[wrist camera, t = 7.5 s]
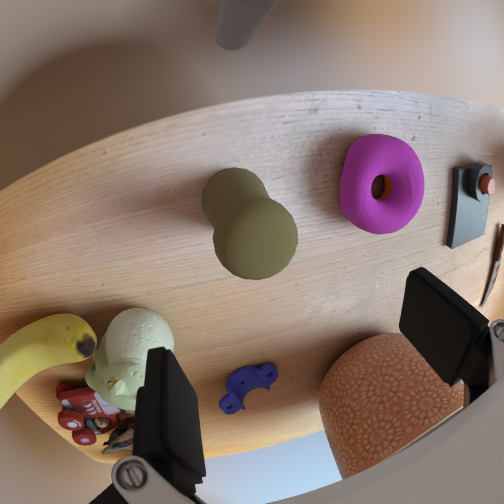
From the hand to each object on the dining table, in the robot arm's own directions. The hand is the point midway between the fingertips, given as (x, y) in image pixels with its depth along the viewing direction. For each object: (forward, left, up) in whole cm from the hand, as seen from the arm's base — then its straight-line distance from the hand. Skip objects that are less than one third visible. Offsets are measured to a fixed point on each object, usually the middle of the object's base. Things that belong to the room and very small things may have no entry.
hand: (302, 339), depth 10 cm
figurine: (+21, -1, -18) cm, 28 cm away
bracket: (+19, +15, -15) cm, 29 cm away
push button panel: (-20, +29, -18) cm, 40 cm away
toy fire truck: (+40, -7, -13) cm, 43 cm away
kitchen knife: (-20, +52, -18) cm, 59 cm away
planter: (+11, +32, -18) cm, 38 cm away
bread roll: (+44, +8, -17) cm, 48 cm away
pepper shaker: (0, 0, -18) cm, 18 cm away
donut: (-10, +11, -18) cm, 23 cm away
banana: (+26, -13, -18) cm, 34 cm away
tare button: (-23, +26, -15) cm, 38 cm away
